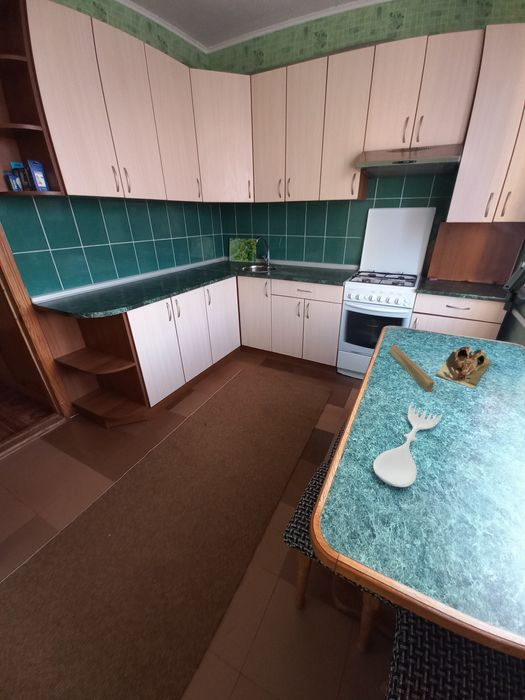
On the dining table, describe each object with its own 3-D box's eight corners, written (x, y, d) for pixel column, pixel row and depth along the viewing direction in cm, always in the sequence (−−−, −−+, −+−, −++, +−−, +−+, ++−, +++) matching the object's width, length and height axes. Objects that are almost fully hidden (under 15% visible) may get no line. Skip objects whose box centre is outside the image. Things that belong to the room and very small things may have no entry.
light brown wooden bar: (393, 352, 122) (395, 344, 120) (431, 391, 97) (434, 382, 95) (389, 352, 122) (390, 345, 120) (426, 391, 97) (428, 382, 95)
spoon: (441, 422, 83) (444, 413, 82) (406, 500, 62) (409, 490, 60) (408, 409, 89) (410, 400, 87) (365, 478, 67) (367, 467, 66)
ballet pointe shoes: (498, 345, 112) (486, 374, 94) (492, 360, 115) (478, 391, 97) (458, 335, 120) (439, 360, 102) (453, 349, 123) (434, 375, 105)
